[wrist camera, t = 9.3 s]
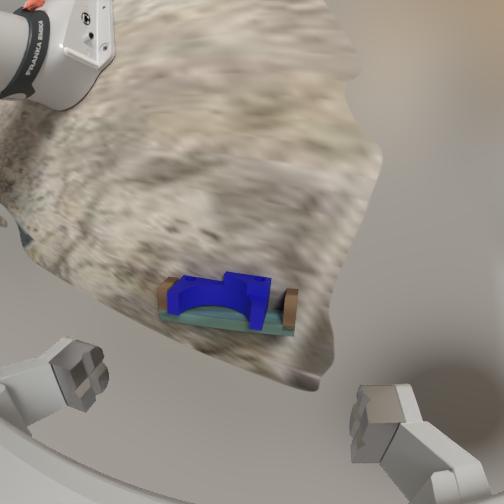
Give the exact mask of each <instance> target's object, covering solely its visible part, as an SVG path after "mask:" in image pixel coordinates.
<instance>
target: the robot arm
mask: <svg viewBox="0 0 504 504" xmlns="http://www.w3.org/2000/svg"><path fill="white" fill-rule="evenodd" d="M106 48H107V49H106ZM105 49H106V50H105ZM114 56H115V44H114V28H113V4H112V0H29V1H28V2H27V6H25V7H21V8H19V9H17V10H16V11H15V12H14V13H13V14H12V13H9V12H5V11H1V10H0V99H2V100H11V101H18V100H23V99H27V100H31V101H35V102H38V103H41V104H43V105H45V106H47V107H49V108H51V109H53V110H65V109H68V108H70V107H72V106H73V105H75V104H76V103H78V102H79V101H80V100H81V99H82V98H83V97H84V96H85V95H86V94H87V92H88V91H89V90H90V88H91V87H92V85H93V84H94V82H95V80H96V78H97V76H98V75H99V73H100V72H101V71H102V70H103V69H104V68H105V67H106V66H107V65H108V64H109V63H110V62H111V61H112V60H113V58H114ZM103 359H104V355H103V351H102V349H101V348H100V347H98V346H95V345H92V344H89V343H85V342H83V341H79V340H75V339H73V338H70V337H63V338H61V339H60V340H59V341H58V342H57V343H55V344H54V345H53V346H52V347H51V348H49V349H48V350H47V351H46V352H45V353H43V354H42V355H41V356H40V357H39V358H35V357H34V358H31V359H28V360H24V361H21V362H17V363H14V364H10V365H6V366H3V367H0V504H193V503H189V502H185V501H182V500H178V499H174V498H170V497H167V496H164V495H161V494H157V493H154V492H151V491H148V490H145V489H142V488H139V487H136V486H134V485H131V484H128V483H125V482H123V481H120V480H117V479H115V478H112V477H110V476H108V475H105V474H103V473H101V472H98V471H96V470H94V469H92V468H89V467H87V466H85V465H83V464H81V463H79V462H76V461H75V460H73V459H70V458H68V457H67V456H65V455H63V454H61V453H59V452H57V451H55V450H53V449H51V448H50V447H48V446H46V445H44V444H43V443H41V442H39V441H37V440H35V439H34V438H32V435H31V433H30V431H29V430H28V428H27V426H29V425H31V424H33V423H35V422H37V421H39V420H41V419H43V418H45V417H47V416H49V415H51V414H53V413H55V412H57V411H59V410H61V409H63V408H65V407H67V405H68V406H70V407H73V408H75V409H78V410H81V411H83V412H87V411H88V410H89V408H90V407H91V406H92V405H93V403H94V402H95V401H96V396H95V395H97V394H100V393H102V392H103V391H104V390H105V388H106V387H107V384H108V381H109V372H108V369H107V367H106V365H105V364H104V363H103V362H102V361H103ZM349 428H350V435H351V436H352V437H353V441H352V444H351V459H352V463H380V466H381V467H382V468H383V469H384V471H385V472H386V473H387V474H388V476H389V477H390V478H391V479H392V481H393V482H394V483H395V484H396V486H397V487H398V488H399V489H400V490H401V491H402V493H403V494H404V495H405V497H406V498H407V499H408V500H409V501H410V502H409V504H504V491H503V492H500V493H498V494H494V495H492V494H491V491H490V488H489V485H488V482H487V479H486V476H485V473H484V470H483V467H482V465H481V462H479V461H478V460H477V459H475V458H474V457H473V456H472V455H470V454H469V453H468V452H466V451H465V450H464V449H462V448H461V447H460V446H459V445H457V444H456V443H454V442H453V441H452V440H451V439H449V438H448V437H447V436H445V435H444V434H443V433H442V432H440V431H439V430H438V429H437V428H435V427H434V426H433V425H431V424H430V423H429V422H423V420H422V417H421V414H420V411H419V408H418V405H417V402H416V399H415V396H414V393H413V390H412V388H411V386H410V385H409V384H394V385H360V387H359V388H358V392H357V403H356V404H354V405H353V408H352V412H351V416H350V426H349Z"/></svg>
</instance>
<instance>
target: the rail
mask: <svg viewBox="0 0 504 504" xmlns="http://www.w3.org/2000/svg"><path fill="white" fill-rule="evenodd" d="M178 281H179V280H178V278H174V277H168V278H167V279H166V280H165V281H164V282H163V283H162V284H160V285H159V286H158V287H157V297H158V306H159V315H160V320H165V321H171V322H178V323H184V324H191V325H198V326H205V327H212V328H220V329H227V330H236V331H244V332H253V333H262V334H272V335H282V336H294V330H295V320H296V309H297V299H298V289H287V291H286V296H285V303H284V310H275V309H268V310H267V313H266V317H265V321H264V324H263V328H262V331H260V330H254V329H249V327H250V323H249V320H248V319H247V317H246V316H245V315H244V314H242V313H241V312H239V311H237V310H235V309H232V308H229V307H225V306H219V305H202V306H196V307H192V308H189V309H187V310H185V311H183V312H182V313H181V314H180V315H179V316H178V315H173V314H168V307H167V292H168V291H169V290H170V289H171V288H172V287H173V286H174V285H175V284H176V283H177V282H178Z"/></svg>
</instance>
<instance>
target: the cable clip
mask: <svg viewBox="0 0 504 504" xmlns="http://www.w3.org/2000/svg"><path fill="white" fill-rule="evenodd" d="M270 286H271V278H267V277H260V276H253V275H247V274H240V273H233V272H226V273H225V274H224V282H223V281H217V280H211V279H205V278H198V277H192V276H186V275H183V277H182V278H181V279H180V280H179V281H178V282H177V283H176V284H175V285H174V286H173V287H172V288H171V289H170V290H169V291H168V292H167V307H168V314H173V315H178V316H179V315H180V314H181V313H182V312H183V311H185V310H187V309H189V308H192V307H196V306H202V305H219V306H225V307H229V308H232V309H235V310H237V311H239V312H241V313H242V314H244V315H245V316H246V317H247V319H248V320H249V323H250V327H249V329H254V330H260V331H262V328H263V324H264V321H265V317H266V313H267V310H268V303H269V294H270Z"/></svg>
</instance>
